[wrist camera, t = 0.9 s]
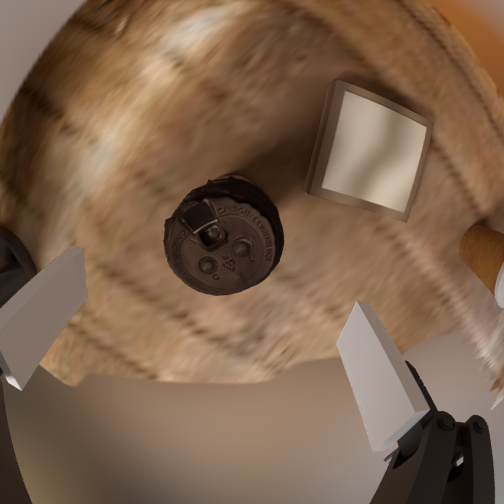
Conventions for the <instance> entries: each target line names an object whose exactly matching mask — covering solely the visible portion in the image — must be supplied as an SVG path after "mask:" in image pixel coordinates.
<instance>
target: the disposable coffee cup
mask: <svg viewBox="0 0 504 504" xmlns="http://www.w3.org/2000/svg"><path fill="white" fill-rule="evenodd" d="M460 254H461V258H462V260H463V261H464V262H465V263H466V264H467V265H468V266H469V267H470V268H471V269H472V270H473V272H474V273H475V274H476V275H477V276H478V277H479V279H481V281H482V282H483V283H484V284H485V285H486V286H487V288H488V289H489V290H490V291H491V293H492V294H493V295H494V296H495V298H496V301H497V304H498V305H499V306H500V307H501V308H504V234H502V233H500V232H497V231H495V230H492V229H489V228H486V227H484V226H481V225H473V226H472V227H470V228H469V229H468V231H467V232H466V233H465V235H464V237H463V239H462V243H461V247H460Z"/></svg>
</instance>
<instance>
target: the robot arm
mask: <svg viewBox="0 0 504 504" xmlns="http://www.w3.org/2000/svg"><path fill="white" fill-rule="evenodd" d="M87 298H88V292H87V283H86V272H85V258H84V249H82V248H78V247H74V246H71V247H70V248H68V249H67V250H66V251H64V252H63V253H62V254H61V255H59V256H58V257H57V258H56V259H55V260H53V261H52V262H51V263H50V264H49V265H47V266H46V267H45V268H44V269H43V270H41V271H40V272H39V273H38V274H37V273H36V270H35V267H34V264H33V262H32V260H31V258H30V256H29V254H28V252H27V251H26V249H25V247H24V246H23V245H22V243H21V242H20V241H19V240H18V238H17V237H16V236H15V235H13V234H12V233H11V232H9V231H7V230H5V229H0V376H1V375H2V373H3V374H4V376H5V377H6V379H7V381H8V382H9V383H10V384H12V385H13V386H15V387H16V388H18V389H20V390H23V388H24V386H25V385H26V383H27V382H28V380H29V378H30V377H31V375H32V374H33V372H34V370H35V369H36V367H37V366H38V364H39V363H40V361H41V360H42V358H43V357H44V356H45V354H46V353H47V351H48V350H49V348H50V347H51V345H52V344H53V343H54V341H55V340H56V338H57V337H58V336H59V334H60V333H61V332H62V330H63V329H64V328H65V326H66V325H67V324H68V322H69V321H70V320H71V318H72V317H73V316H74V314H75V313H76V312H77V311H78V309H79V308H80V307H81V306H82V304H83V303H84V302H85V301H86V299H87ZM336 345H337V348H338V351H339V353H340V356H341V359H342V361H343V364H344V367H345V370H346V373H347V375H348V378H349V381H350V384H351V387H352V390H353V393H354V396H355V398H356V401H357V404H358V407H359V410H360V413H361V416H362V419H363V423H364V426H365V429H366V432H367V435H368V438H369V441H370V445H371V448H372V451H373V452H375V451H381V450H386V449H389V448H390V447H391V446H392V445H393V444H395V443H396V442H397V443H398V446H399V447H398V448H397V449H396V450H395V451H393V452H392V453H391V454H390V455H388V456H387V457H386V458H385V459H384V461H387V460H389V459H390V458H391V457H392V459H391V461H390V462H389V466H388V468H387V470H386V472H385V474H384V477H383V479H382V481H381V483H380V485H379V487H378V489H377V491H376V493H375V495H374V496H373V498H372V500H371V502H370V504H495V482H494V467H493V456H492V448H491V441H490V434H489V429H488V425H487V423H486V421H485V420H484V419H483V418H482V417H480V416H478V415H473V416H471V417H470V418H469V419H468V420H467V421H466V422H465V423H463V422H455V419H454V418H453V417H452V416H451V415H450V414H449V413H447V412H444V411H438V410H437V408H436V406H435V404H434V402H433V400H432V398H431V397H430V395H429V393H428V391H427V389H426V387H425V386H424V384H423V382H422V380H421V379H420V376H419V375H418V373H417V371H416V369H415V368H414V367H413V366H412V365H411V364H410V363H409V362H408V361H404V359H403V357H402V356H401V354H400V352H399V350H398V349H397V347H396V345H395V344H394V342H393V340H392V338H391V337H390V335H389V333H388V332H387V330H386V328H385V327H384V325H383V324H382V322H381V320H380V319H379V317H378V315H377V314H376V312H375V311H374V309H373V308H372V306H371V304H370V303H367V302H360V301H356V303H355V305H354V308H353V310H352V312H351V314H350V316H349V318H348V320H347V322H346V324H345V326H344V328H343V330H342V332H341V334H340V336H339V338H338V340H337V342H336ZM461 457H463V463H461V464H460V465H459V466H457V464H456V463H457V461H458V460H459V459H460V458H461ZM0 504H32V502H31V499H30V497H29V494H28V492H27V489H26V487H25V484H24V481H23V478H22V475H21V472H20V469H19V466H18V463H17V459H16V456H15V452H14V448H13V445H12V440H11V436H10V432H9V427H8V422H7V416H6V410H5V403H4V395H3V386H2V382H1V379H0Z"/></svg>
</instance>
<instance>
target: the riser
mask: <svg viewBox="0 0 504 504" xmlns="http://www.w3.org/2000/svg"><path fill="white" fill-rule="evenodd" d="M433 124H434V123H432V122H431V121H429V120H427V119H425V118H424V117H422V116H420V115H418V114H416V113H414V112H412V111H411V110H409V109H407V108H405V107H403V106H401V105H399V104H396V103H394V102H392V101H390V100H388V99H386V98H384V97H381V96H379V95H377V94H374V93H372V92H370V91H367V90H365V89H362V88H360V87H357V86H355V85H352V84H349V83H347V82H344V81H341V80H338V79H336V80H335V81H333V82H331V83H330V84H328V89H327V93H326V97H325V102H324V106H323V110H322V115H321V119H320V123H319V127H318V131H317V136H316V140H315V144H314V148H313V152H312V156H311V160H310V164H309V168H308V172H307V175H306V179H305V183H304V187H303V189H304V190H305V191H306V192H307V193H308V194H309V195H313V196H317V197H321V198H324V199H328V200H332V201H336V202H339V203H343V204H347V205H350V206H354V207H357V208H361V209H364V210H368V211H371V212H374V213H378V214H381V215H384V216H387V217H390V218H394V219H397V220H400V221H403V222H406V223H407V220H408V217H409V214H410V212H411V208H412V205H413V202H414V199H415V196H416V193H417V189H418V186H419V182H420V179H421V175H422V172H423V168H424V164H425V160H426V156H427V152H428V147H429V143H430V138H431V134H432V129H433Z"/></svg>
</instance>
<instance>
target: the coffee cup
mask: <svg viewBox="0 0 504 504" xmlns="http://www.w3.org/2000/svg"><path fill="white" fill-rule="evenodd" d="M164 226H165V231H164V240H163V242H164V247H165V254H166V257H167V259H168V260H167V262H168V264H169V266H170V268H172V270H173V272H174V273H175V274H176V275H177V277H179V278H180V279H181V280H182V281H183V282H184V283H185V284H187V285H188V286H189V287H191V288H193V289H195V290H196V291H198V292H202V293H205V294H210V295H215V296H219V295H230V294H234V293H238V292H241V291H243V290H246V289H248V288H250V287H253V286H255V285H257V284H259V283H260V282H262V281H264V280H265V279H266V278H267V277H268V276H269V275H270V273H271V271H272V270H273V269H274V268H275V267H276V265H277V264H278V263H279V261H280V257H281V255H282V251H283V247H284V233H283V228H282V224H281V221H280V217H279V213H278V210H277V207H276V206H275V205H274V203H273V202H272V200H271V199H270V197H269V196H268V195H267V194H266V193H265V191H264V190H262V189H261V188H260V187H258V186H257V185H256V184H255V183H254V182H253V181H251V180H249V179H248V178H246V177H244V176H241V175H235V174H234V175H227V176H223V177H220V178H217V179H214V180H208V182H207V184H205V185H203V186H201V187H198V188H196V189H194V190H192V191H191V192H190V193H189V194H187V196H186V197H185V198H184V199H183V201H182V202H181V203H180V205H179V207H178V208H177V209H176V210H175V212H174V213H173V215H172V216H171V218H168V219H166V220H165V225H164Z"/></svg>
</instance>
